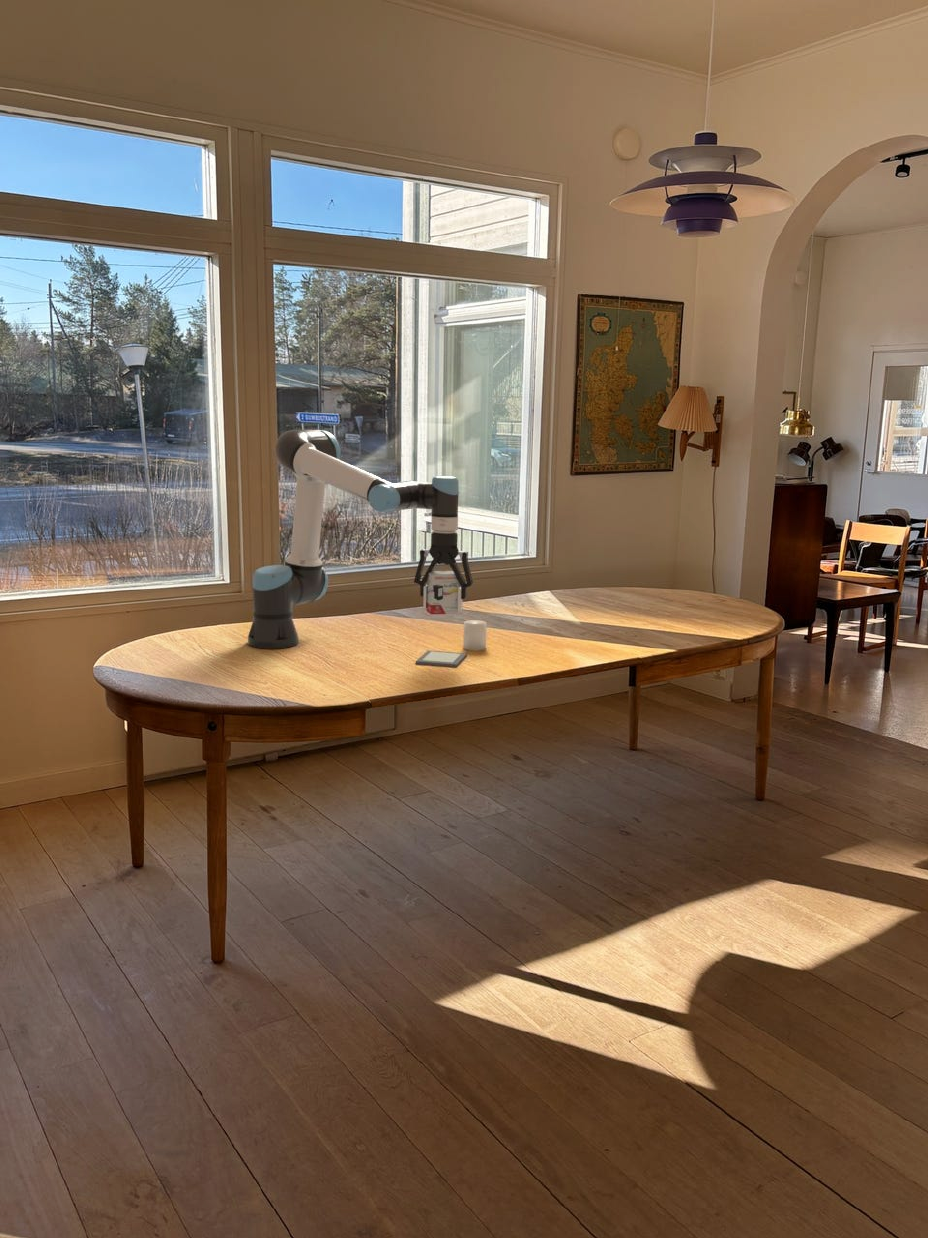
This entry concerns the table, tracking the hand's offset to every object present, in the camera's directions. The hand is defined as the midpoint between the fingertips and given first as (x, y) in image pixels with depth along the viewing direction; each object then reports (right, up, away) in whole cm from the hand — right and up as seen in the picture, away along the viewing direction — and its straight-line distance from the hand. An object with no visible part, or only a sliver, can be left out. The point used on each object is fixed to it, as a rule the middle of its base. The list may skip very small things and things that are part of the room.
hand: (442, 608), depth 291 cm
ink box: (0, -1, 0) cm, 1 cm away
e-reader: (0, -15, +3) cm, 15 cm away
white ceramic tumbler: (+9, -12, +19) cm, 24 cm away
